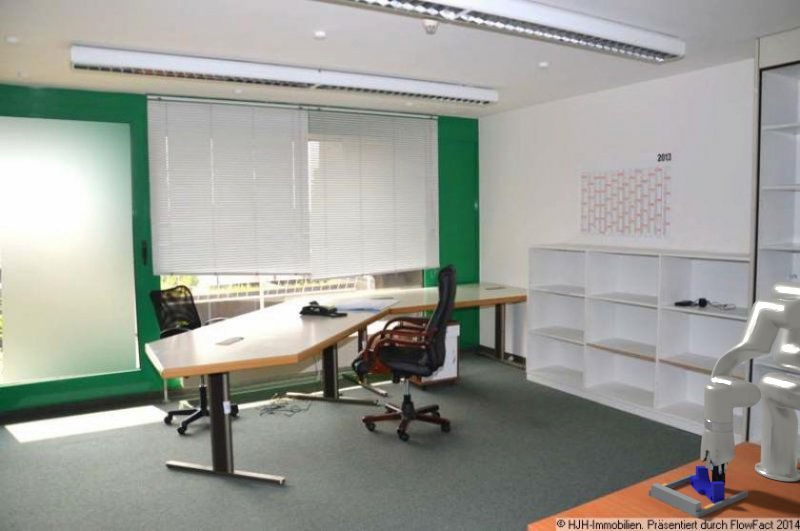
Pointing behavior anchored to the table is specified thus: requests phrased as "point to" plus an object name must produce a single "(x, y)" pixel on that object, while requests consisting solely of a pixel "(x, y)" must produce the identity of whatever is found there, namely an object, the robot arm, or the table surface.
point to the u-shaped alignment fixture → (689, 498)
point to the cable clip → (708, 485)
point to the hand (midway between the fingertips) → (718, 484)
